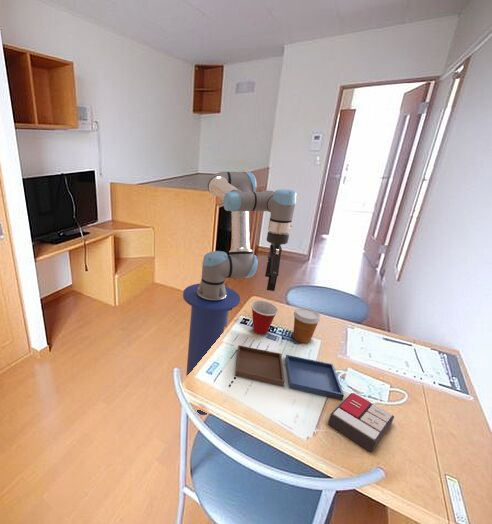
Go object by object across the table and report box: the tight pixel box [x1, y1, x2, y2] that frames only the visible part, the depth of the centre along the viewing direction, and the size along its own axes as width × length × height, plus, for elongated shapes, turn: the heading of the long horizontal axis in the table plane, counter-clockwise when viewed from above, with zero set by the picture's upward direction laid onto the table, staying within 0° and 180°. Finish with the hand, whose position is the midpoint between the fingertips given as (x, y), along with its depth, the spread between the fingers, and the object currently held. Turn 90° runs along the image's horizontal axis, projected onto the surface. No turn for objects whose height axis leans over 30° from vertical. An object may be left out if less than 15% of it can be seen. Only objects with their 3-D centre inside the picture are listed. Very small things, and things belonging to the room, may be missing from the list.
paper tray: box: [235, 344, 285, 387], centre depth 109 cm, size 15×15×2 cm
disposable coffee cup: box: [292, 307, 321, 344], centre depth 123 cm, size 10×10×12 cm
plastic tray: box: [284, 354, 345, 401], centre depth 104 cm, size 15×15×2 cm
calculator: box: [327, 392, 395, 453], centre depth 86 cm, size 11×4×15 cm
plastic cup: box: [250, 300, 279, 336], centre depth 128 cm, size 11×11×12 cm
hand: (269, 283), depth 122 cm, fingers open, 13 cm apart
